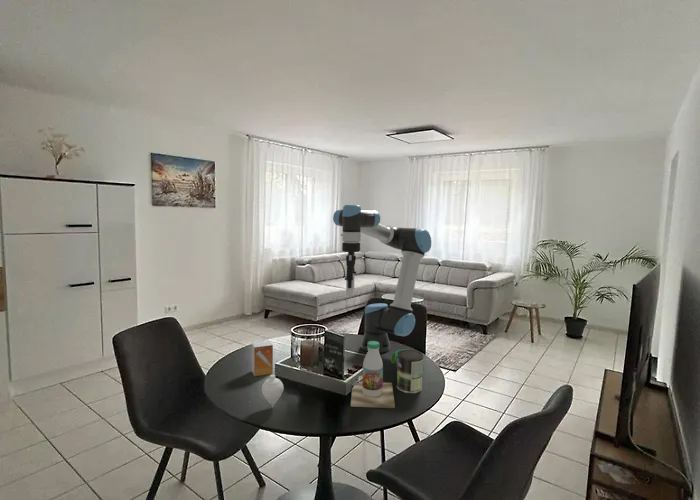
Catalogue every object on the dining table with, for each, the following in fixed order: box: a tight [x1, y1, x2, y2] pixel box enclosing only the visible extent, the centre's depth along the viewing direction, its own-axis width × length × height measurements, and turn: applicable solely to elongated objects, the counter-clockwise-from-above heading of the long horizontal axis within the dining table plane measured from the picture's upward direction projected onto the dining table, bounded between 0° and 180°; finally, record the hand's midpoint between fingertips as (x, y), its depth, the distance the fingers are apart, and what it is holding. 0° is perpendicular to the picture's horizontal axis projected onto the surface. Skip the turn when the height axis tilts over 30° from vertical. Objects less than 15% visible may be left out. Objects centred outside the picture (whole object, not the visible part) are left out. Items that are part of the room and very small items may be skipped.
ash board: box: [350, 381, 396, 409], centre depth 148 cm, size 18×16×1 cm
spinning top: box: [261, 374, 284, 408], centre depth 138 cm, size 8×8×12 cm
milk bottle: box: [362, 341, 384, 397], centre depth 147 cm, size 8×8×20 cm
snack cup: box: [390, 348, 425, 373], centre depth 166 cm, size 16×10×10 cm
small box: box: [251, 340, 274, 377], centre depth 167 cm, size 8×6×13 cm
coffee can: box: [396, 349, 424, 394], centre depth 155 cm, size 10×10×14 cm
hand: (350, 292), depth 162 cm, fingers open, 13 cm apart
